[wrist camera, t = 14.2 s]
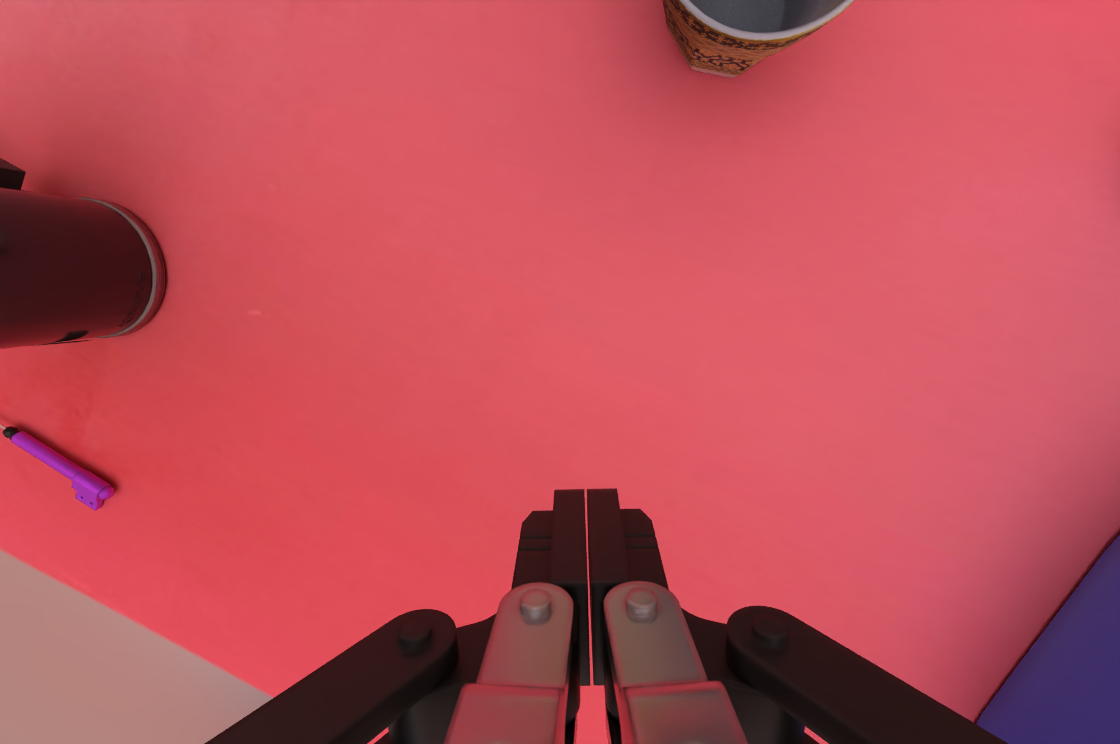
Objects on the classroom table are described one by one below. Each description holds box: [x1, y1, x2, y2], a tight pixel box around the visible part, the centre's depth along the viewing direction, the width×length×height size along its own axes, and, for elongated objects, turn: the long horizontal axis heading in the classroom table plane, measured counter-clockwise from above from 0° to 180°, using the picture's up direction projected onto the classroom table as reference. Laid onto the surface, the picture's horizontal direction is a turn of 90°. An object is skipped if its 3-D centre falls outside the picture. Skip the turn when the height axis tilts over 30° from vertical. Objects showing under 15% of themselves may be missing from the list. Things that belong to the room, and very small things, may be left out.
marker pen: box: [0, 424, 114, 511], centre depth 42 cm, size 3×1×16 cm
